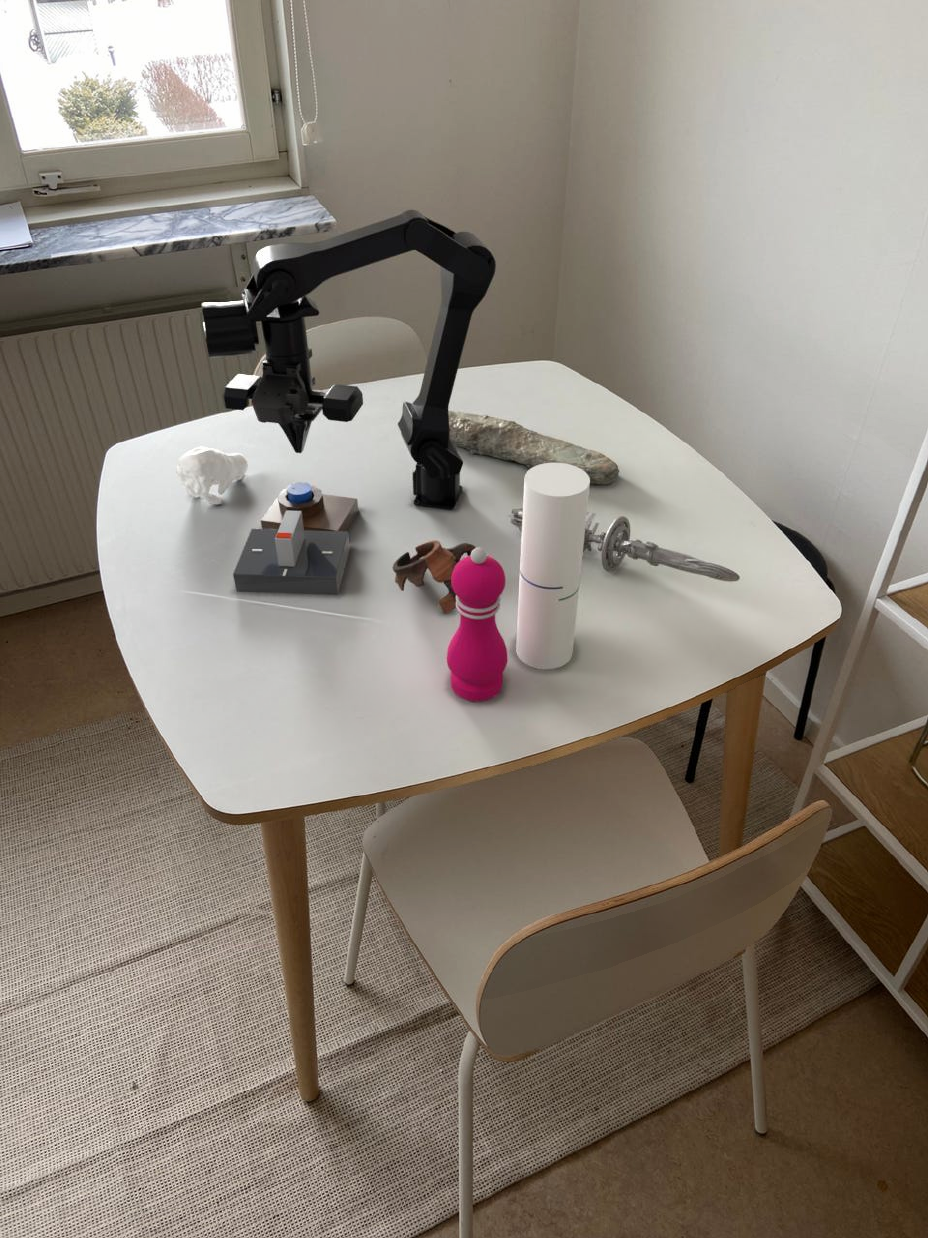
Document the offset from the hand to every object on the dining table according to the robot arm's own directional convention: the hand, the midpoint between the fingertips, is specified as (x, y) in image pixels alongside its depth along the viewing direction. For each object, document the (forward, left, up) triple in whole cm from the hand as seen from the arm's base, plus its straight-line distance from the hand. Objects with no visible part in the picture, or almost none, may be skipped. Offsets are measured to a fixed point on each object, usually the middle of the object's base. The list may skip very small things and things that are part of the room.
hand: (299, 451), depth 133 cm
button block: (-1, +1, -11) cm, 11 cm away
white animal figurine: (+16, -4, -11) cm, 20 cm away
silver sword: (-47, +2, -11) cm, 48 cm away
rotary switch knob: (-3, +13, -8) cm, 16 cm away
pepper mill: (-33, +30, -11) cm, 46 cm away
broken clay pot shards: (-24, +13, -11) cm, 30 cm away
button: (0, +1, -7) cm, 8 cm away
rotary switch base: (-3, +13, -11) cm, 18 cm away
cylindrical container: (-40, +22, -11) cm, 47 cm away
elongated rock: (-28, -26, -11) cm, 40 cm away
